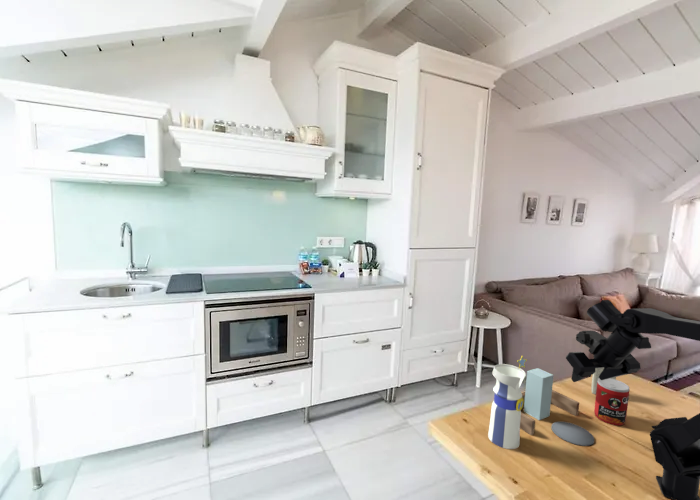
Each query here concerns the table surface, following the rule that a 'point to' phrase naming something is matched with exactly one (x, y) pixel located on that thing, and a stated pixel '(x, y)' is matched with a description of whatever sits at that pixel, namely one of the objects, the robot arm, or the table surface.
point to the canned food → (611, 401)
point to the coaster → (572, 433)
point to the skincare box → (596, 379)
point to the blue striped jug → (507, 405)
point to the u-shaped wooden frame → (556, 400)
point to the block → (538, 393)
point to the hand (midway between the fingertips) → (586, 379)
